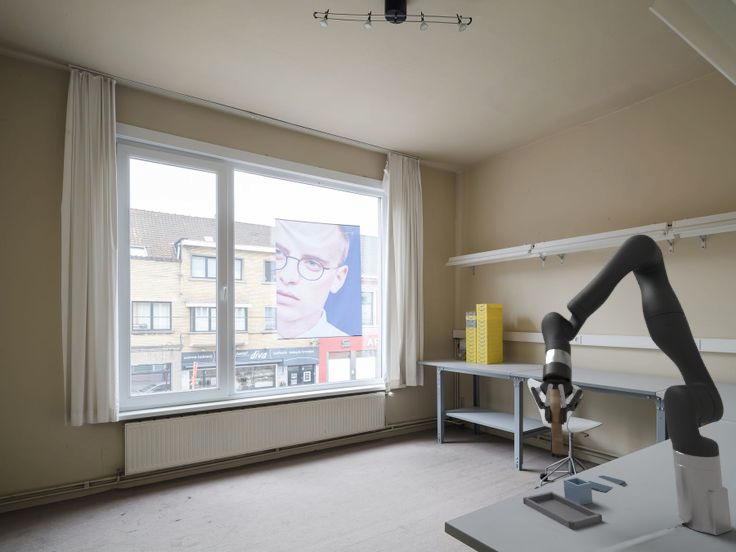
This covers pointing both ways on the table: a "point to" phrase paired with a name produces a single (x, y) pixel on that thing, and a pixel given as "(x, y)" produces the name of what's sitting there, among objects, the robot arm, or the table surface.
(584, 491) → the cup
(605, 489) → the smartphone
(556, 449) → the dowel
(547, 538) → the table surface
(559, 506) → the tray
